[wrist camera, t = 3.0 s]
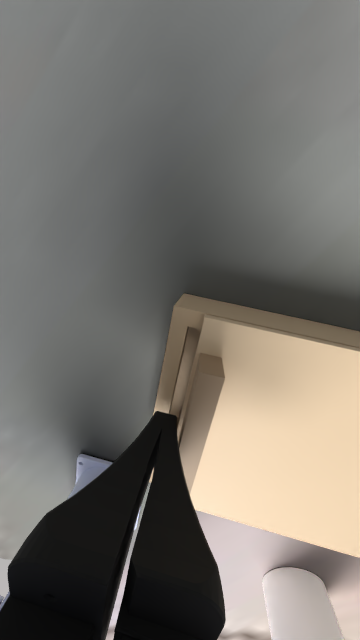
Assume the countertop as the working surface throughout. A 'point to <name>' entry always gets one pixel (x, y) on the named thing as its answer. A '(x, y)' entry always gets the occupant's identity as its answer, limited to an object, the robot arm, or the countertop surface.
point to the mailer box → (194, 308)
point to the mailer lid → (274, 433)
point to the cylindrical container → (299, 606)
